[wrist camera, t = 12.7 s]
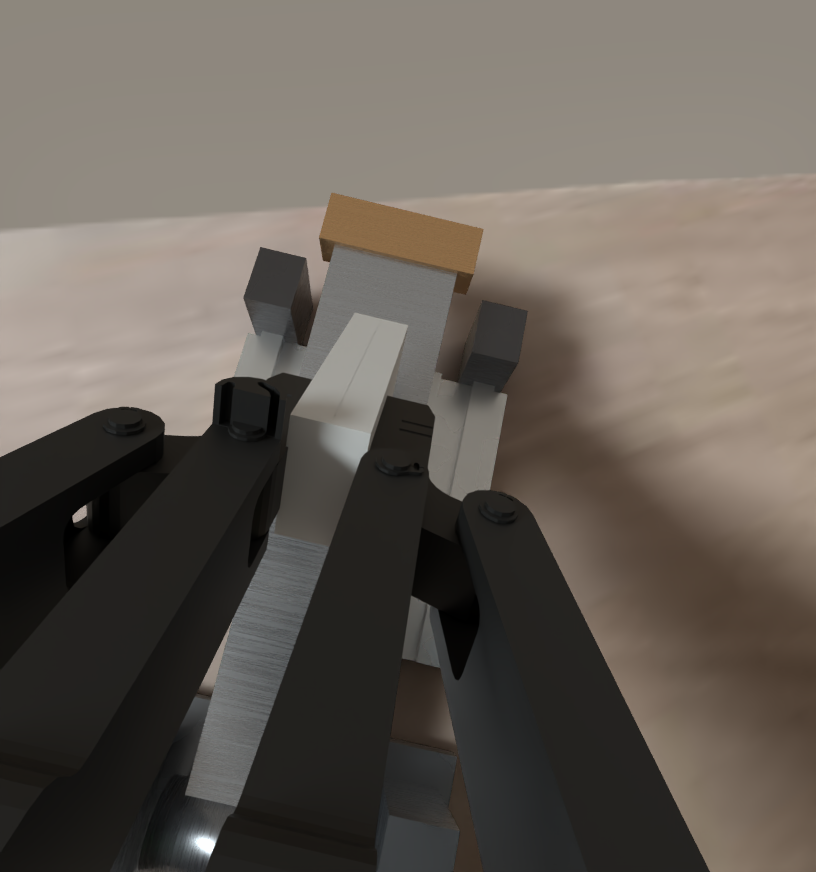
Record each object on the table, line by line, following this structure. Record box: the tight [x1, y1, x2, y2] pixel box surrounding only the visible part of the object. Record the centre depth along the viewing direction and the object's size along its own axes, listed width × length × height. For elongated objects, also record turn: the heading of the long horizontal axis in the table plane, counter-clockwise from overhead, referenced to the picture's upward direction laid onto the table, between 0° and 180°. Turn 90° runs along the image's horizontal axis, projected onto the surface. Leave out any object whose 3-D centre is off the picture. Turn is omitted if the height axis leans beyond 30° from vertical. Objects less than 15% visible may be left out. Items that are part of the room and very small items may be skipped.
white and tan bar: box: [138, 193, 483, 872], centre depth 19 cm, size 5×2×20 cm
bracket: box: [110, 247, 528, 872], centre depth 19 cm, size 11×20×5 cm, turn 168°
